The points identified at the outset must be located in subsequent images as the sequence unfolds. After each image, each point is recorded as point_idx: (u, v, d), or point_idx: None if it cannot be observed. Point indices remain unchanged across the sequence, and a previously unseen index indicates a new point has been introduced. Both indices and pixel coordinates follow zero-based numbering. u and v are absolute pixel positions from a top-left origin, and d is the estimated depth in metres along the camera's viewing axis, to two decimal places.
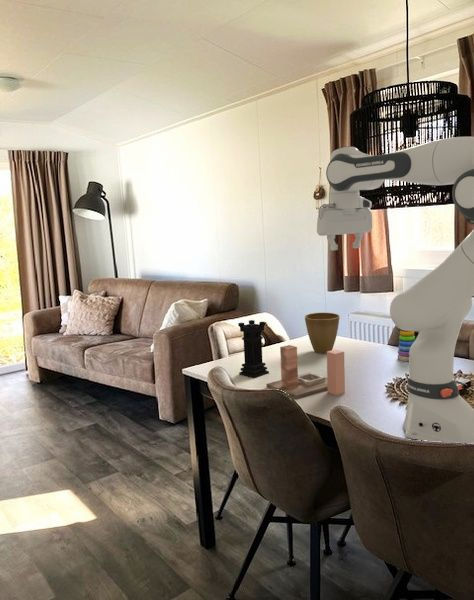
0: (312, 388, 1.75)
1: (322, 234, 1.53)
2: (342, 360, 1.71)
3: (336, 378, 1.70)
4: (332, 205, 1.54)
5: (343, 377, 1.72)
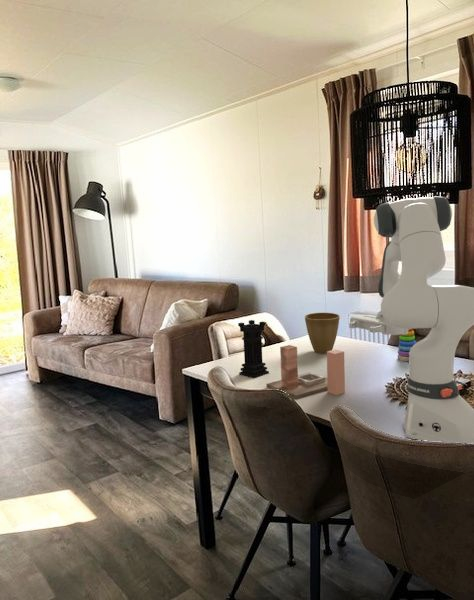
0: (312, 388, 1.75)
1: (350, 320, 1.88)
2: (342, 360, 1.71)
3: (336, 378, 1.70)
4: None
5: (343, 377, 1.72)
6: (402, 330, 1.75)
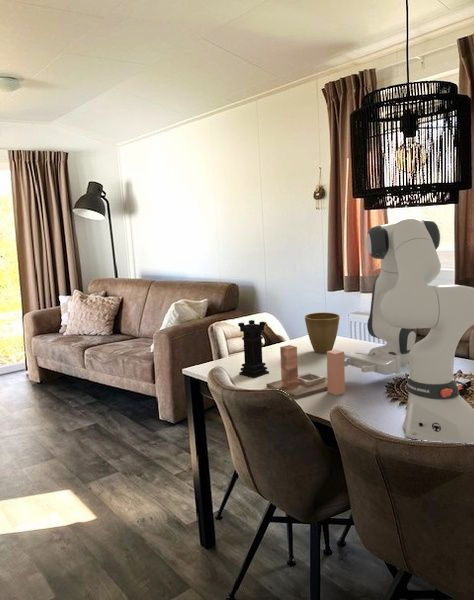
0: (312, 388, 1.75)
1: None
2: (342, 360, 1.71)
3: (336, 378, 1.70)
4: None
5: (343, 377, 1.72)
6: (394, 369, 1.74)
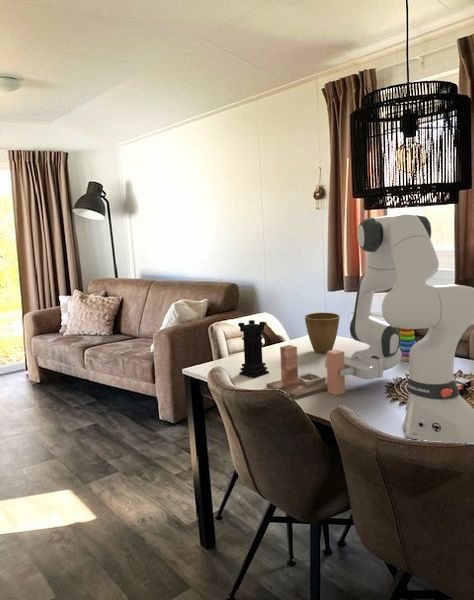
0: (312, 388, 1.75)
1: None
2: (342, 360, 1.71)
3: (336, 378, 1.70)
4: None
5: (343, 377, 1.72)
6: (376, 374, 1.70)
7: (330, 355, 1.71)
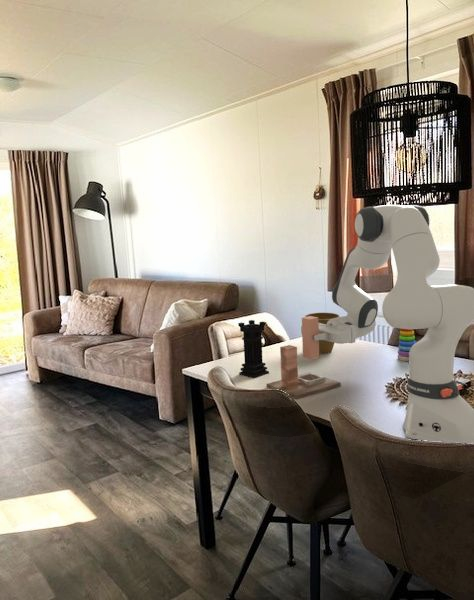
0: (312, 388, 1.75)
1: (301, 328, 1.90)
2: (316, 326, 1.79)
3: (310, 342, 1.78)
4: None
5: (317, 342, 1.80)
6: (348, 339, 1.77)
7: (305, 321, 1.79)
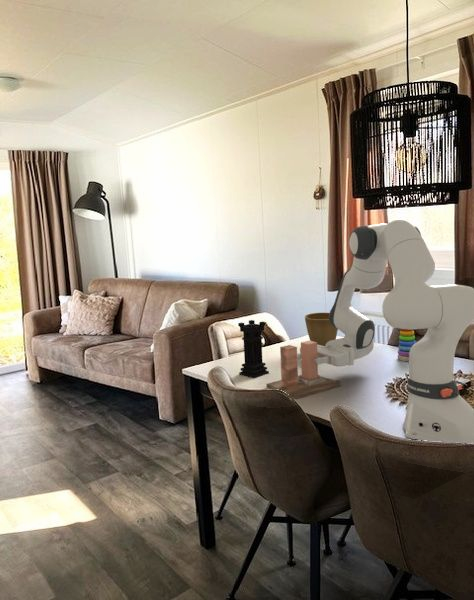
0: (312, 388, 1.75)
1: (300, 350, 1.92)
2: (315, 350, 1.80)
3: (309, 367, 1.80)
4: None
5: (316, 367, 1.81)
6: (347, 361, 1.79)
7: (304, 346, 1.80)
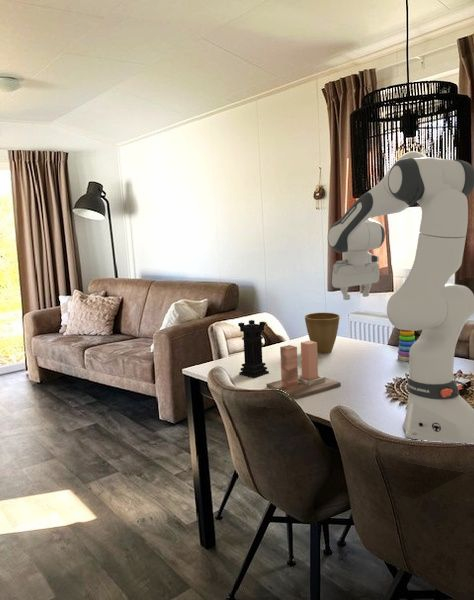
0: (312, 388, 1.75)
1: (336, 287, 1.77)
2: (315, 350, 1.80)
3: (309, 367, 1.80)
4: (345, 261, 1.78)
5: (316, 367, 1.81)
6: None
7: (304, 346, 1.80)
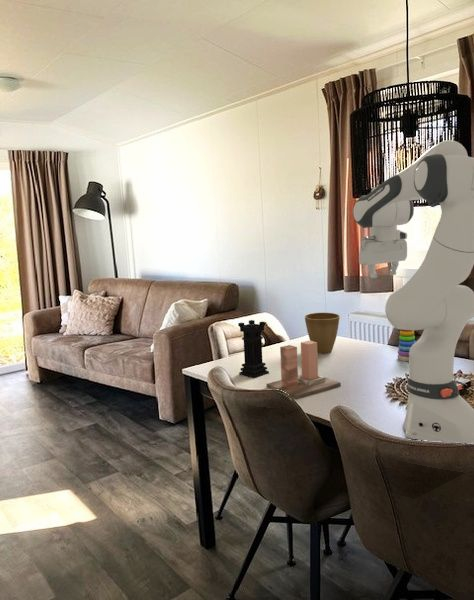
0: (312, 388, 1.75)
1: (364, 264, 1.70)
2: (315, 350, 1.80)
3: (309, 367, 1.80)
4: (373, 237, 1.71)
5: (316, 367, 1.81)
6: None
7: (304, 346, 1.80)
